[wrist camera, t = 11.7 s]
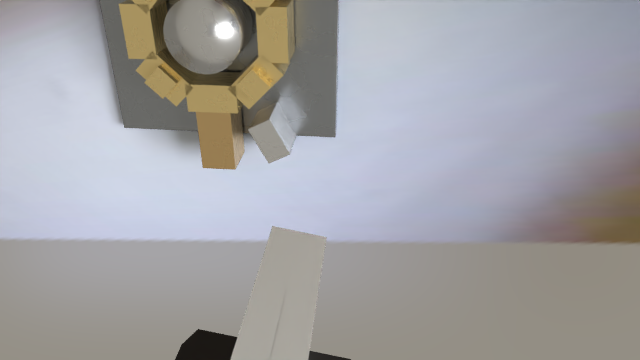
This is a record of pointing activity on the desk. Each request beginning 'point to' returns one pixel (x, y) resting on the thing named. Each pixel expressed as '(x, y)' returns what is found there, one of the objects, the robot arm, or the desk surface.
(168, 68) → the octagonal block ring
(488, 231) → the desk surface
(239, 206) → the desk surface
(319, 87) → the grey base plate
